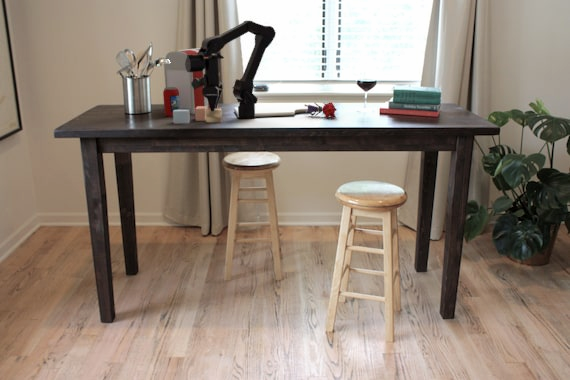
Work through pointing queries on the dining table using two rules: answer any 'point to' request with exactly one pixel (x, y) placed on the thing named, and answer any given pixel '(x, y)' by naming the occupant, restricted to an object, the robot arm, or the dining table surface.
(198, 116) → the terracotta block
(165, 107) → the beverage can
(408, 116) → the dining table surface
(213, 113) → the maple block
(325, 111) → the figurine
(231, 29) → the robot arm
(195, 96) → the striped red arch
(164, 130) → the dining table surface
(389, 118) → the dining table surface
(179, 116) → the gray block
